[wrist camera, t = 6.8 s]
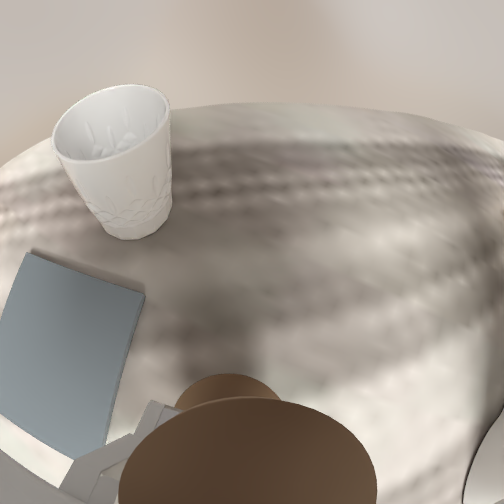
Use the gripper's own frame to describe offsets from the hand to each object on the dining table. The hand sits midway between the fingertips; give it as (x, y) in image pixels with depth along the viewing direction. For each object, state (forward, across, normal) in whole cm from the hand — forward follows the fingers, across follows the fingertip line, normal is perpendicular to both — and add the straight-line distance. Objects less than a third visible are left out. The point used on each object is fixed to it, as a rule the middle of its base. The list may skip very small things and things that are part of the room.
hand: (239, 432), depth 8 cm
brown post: (+4, 0, +5) cm, 6 cm away
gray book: (+7, +14, +8) cm, 17 cm away
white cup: (+17, +12, -2) cm, 21 cm away
